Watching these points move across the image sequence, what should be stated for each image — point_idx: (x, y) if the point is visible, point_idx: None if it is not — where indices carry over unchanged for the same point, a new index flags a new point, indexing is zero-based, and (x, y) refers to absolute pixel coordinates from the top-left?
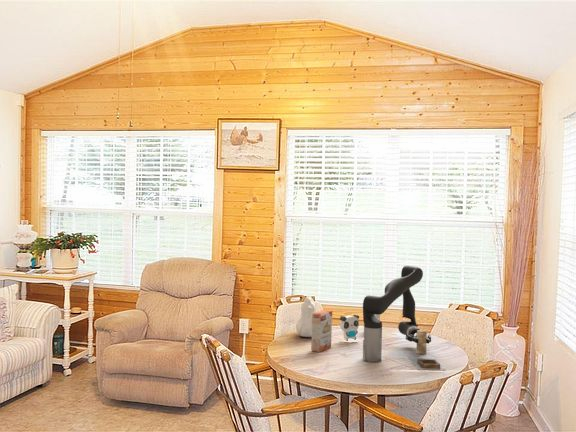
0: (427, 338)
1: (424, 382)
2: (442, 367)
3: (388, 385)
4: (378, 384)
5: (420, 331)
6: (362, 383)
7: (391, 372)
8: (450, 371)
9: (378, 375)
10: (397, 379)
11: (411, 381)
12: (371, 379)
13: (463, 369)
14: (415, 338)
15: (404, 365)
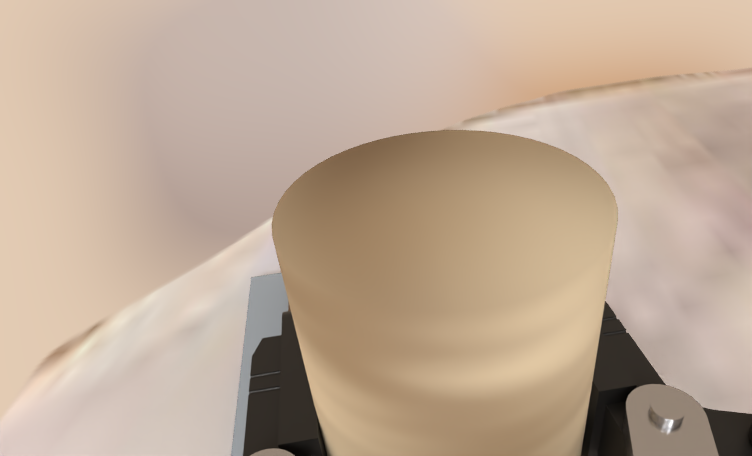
0: (288, 383)
1: (447, 127)
2: (265, 300)
3: (616, 83)
4: (667, 81)
5: (484, 165)
6: (747, 74)
7: (679, 186)
8: (222, 280)
9: (735, 140)
10: (597, 126)
11: (516, 123)
12: (737, 104)
13: (68, 343)
14: (619, 373)
15: (640, 334)
